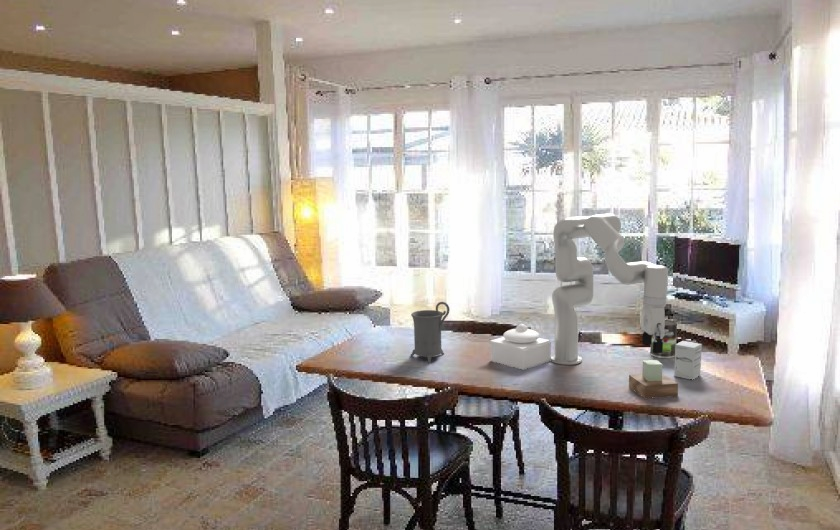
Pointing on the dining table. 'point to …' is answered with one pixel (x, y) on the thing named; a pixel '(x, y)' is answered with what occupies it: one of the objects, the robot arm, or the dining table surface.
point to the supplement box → (687, 360)
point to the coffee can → (667, 341)
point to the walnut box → (653, 386)
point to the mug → (428, 331)
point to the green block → (652, 370)
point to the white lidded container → (520, 348)
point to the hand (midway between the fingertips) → (651, 348)
